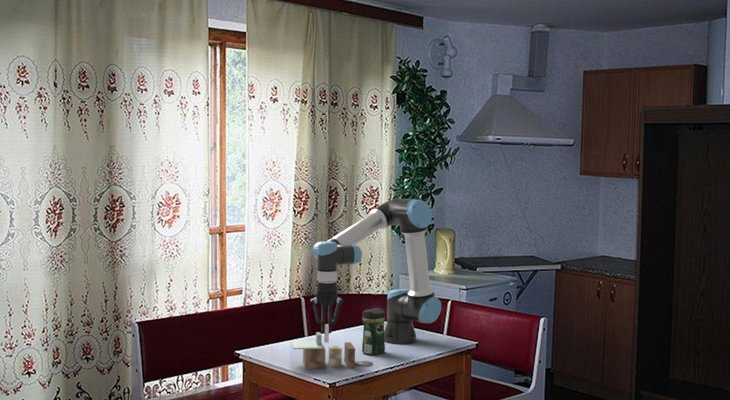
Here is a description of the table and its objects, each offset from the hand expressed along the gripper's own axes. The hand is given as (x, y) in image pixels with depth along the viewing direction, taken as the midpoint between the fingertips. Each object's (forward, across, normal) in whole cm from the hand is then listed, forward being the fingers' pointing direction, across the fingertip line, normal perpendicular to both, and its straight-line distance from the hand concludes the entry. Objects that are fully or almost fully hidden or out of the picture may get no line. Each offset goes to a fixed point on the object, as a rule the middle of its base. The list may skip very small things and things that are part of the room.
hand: (326, 341), depth 308 cm
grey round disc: (+9, -15, 0) cm, 18 cm away
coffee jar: (+10, -22, -18) cm, 30 cm away
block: (+9, -4, 0) cm, 10 cm away
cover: (+1, +8, 0) cm, 8 cm away
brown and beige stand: (+9, -1, 0) cm, 9 cm away
